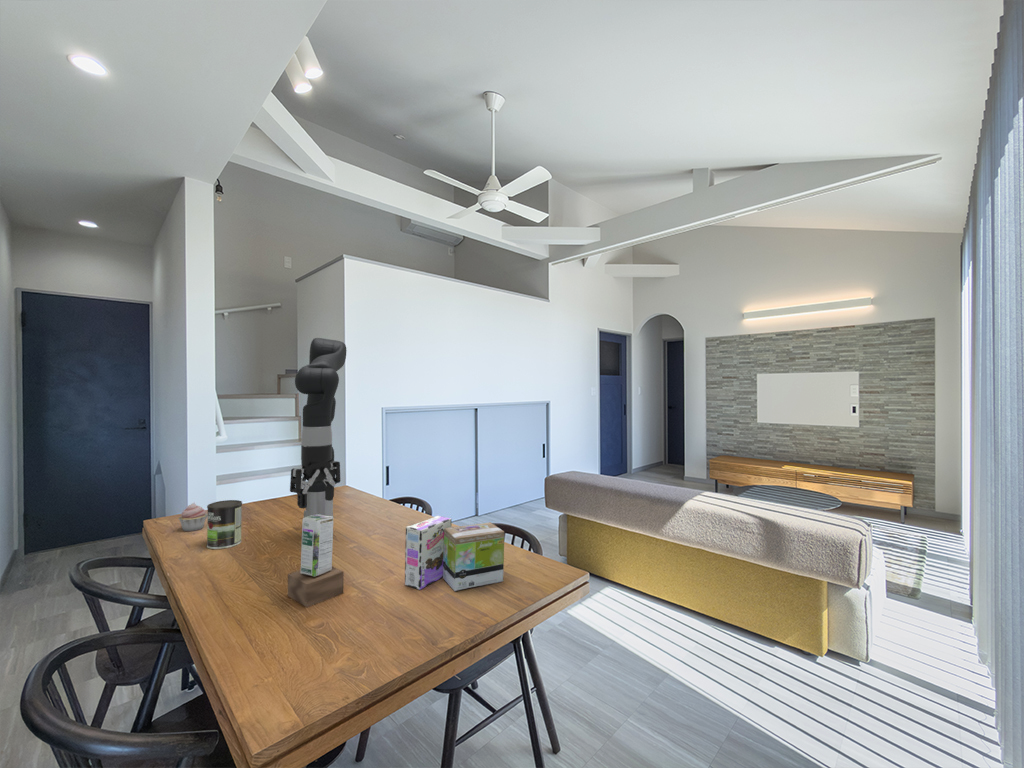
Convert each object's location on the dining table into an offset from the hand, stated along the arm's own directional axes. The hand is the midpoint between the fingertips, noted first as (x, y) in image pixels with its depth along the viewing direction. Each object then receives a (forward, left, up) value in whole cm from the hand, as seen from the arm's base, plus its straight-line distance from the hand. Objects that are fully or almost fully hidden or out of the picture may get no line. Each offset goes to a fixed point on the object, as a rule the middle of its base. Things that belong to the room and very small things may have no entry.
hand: (316, 504), depth 120 cm
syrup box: (0, 0, -18) cm, 18 cm away
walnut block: (0, 0, -24) cm, 24 cm away
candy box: (+21, +21, -24) cm, 39 cm away
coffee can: (-59, +13, -24) cm, 65 cm away
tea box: (+33, +26, -24) cm, 49 cm away
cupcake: (-86, +18, -24) cm, 91 cm away
